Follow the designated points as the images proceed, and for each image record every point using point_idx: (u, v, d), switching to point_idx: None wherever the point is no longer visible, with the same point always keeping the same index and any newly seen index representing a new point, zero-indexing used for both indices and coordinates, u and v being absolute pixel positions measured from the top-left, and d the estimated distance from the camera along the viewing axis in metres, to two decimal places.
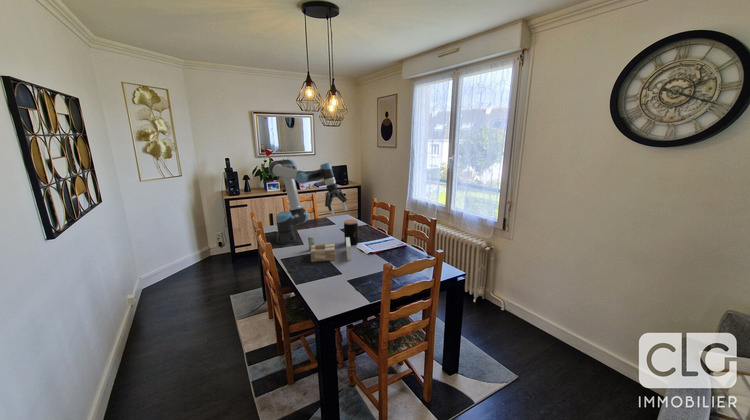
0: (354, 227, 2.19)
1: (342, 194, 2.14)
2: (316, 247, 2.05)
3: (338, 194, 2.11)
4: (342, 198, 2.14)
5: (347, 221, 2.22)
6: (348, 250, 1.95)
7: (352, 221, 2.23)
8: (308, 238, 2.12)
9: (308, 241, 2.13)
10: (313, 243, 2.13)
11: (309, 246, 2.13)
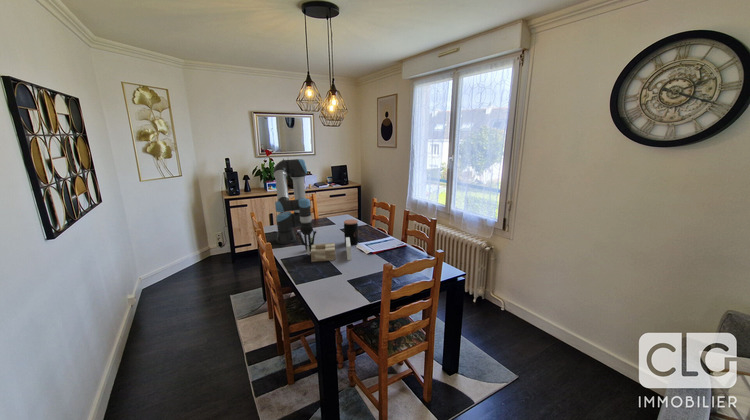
0: (354, 227, 2.19)
1: (313, 236, 1.97)
2: (316, 247, 2.05)
3: (308, 234, 1.96)
4: (309, 240, 1.98)
5: (347, 221, 2.23)
6: (348, 250, 1.95)
7: (352, 221, 2.23)
8: None
9: (308, 241, 2.13)
10: (313, 243, 2.13)
11: None
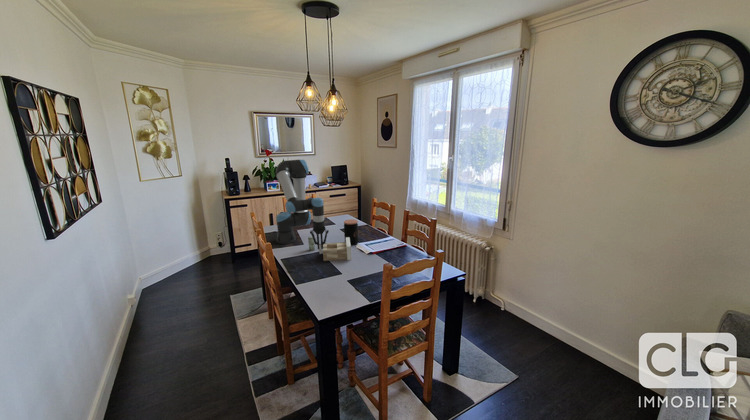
0: (354, 227, 2.19)
1: (325, 236, 1.98)
2: (328, 246, 2.06)
3: (321, 233, 1.97)
4: (321, 240, 1.99)
5: (347, 221, 2.23)
6: (348, 250, 1.95)
7: (352, 221, 2.23)
8: (308, 238, 2.12)
9: (308, 241, 2.13)
10: (313, 243, 2.13)
11: (309, 246, 2.13)
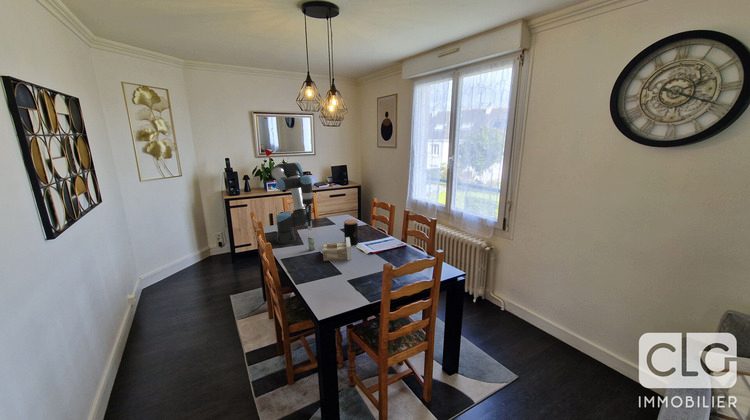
0: (354, 227, 2.19)
1: (306, 214, 2.04)
2: (328, 246, 2.06)
3: None
4: None
5: (347, 221, 2.23)
6: (348, 250, 1.95)
7: (352, 221, 2.23)
8: (308, 238, 2.12)
9: (308, 241, 2.13)
10: (313, 243, 2.13)
11: (309, 246, 2.13)
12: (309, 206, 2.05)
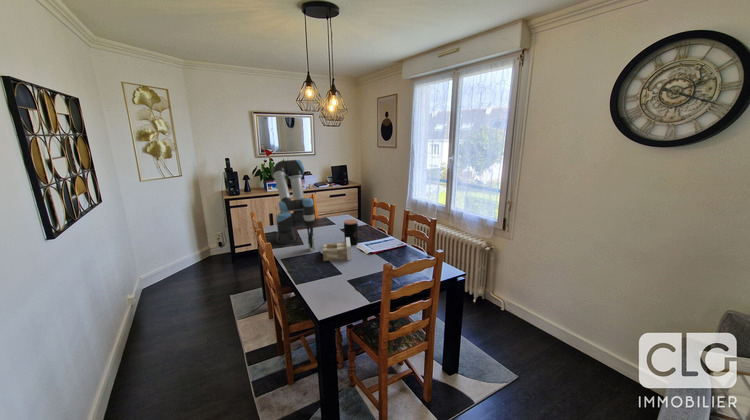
0: (354, 227, 2.19)
1: (308, 235, 2.07)
2: (328, 246, 2.06)
3: None
4: None
5: (347, 221, 2.23)
6: (348, 250, 1.95)
7: (352, 221, 2.23)
8: None
9: (308, 241, 2.13)
10: (313, 243, 2.13)
11: None
12: (311, 227, 2.10)
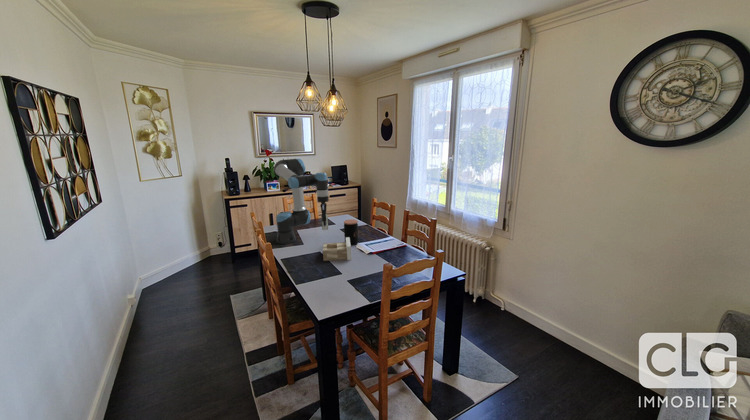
0: (354, 227, 2.19)
1: None
2: (328, 246, 2.06)
3: (321, 209, 1.96)
4: None
5: (347, 221, 2.23)
6: (348, 250, 1.95)
7: (352, 221, 2.23)
8: (321, 216, 1.98)
9: None
10: (327, 221, 1.99)
11: (322, 224, 1.99)
12: (325, 204, 1.96)
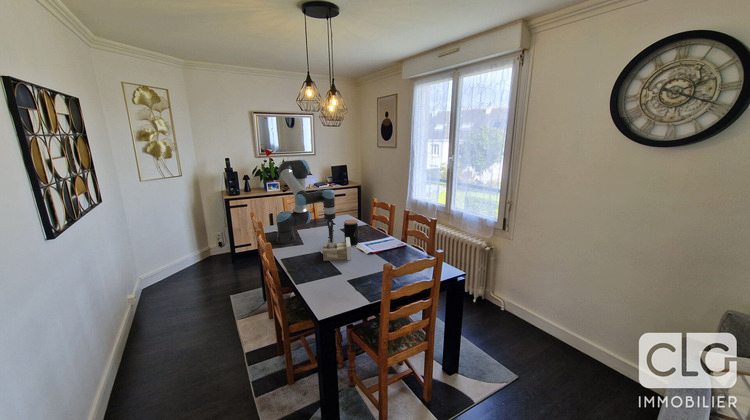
0: (354, 227, 2.19)
1: None
2: (328, 246, 2.06)
3: None
4: None
5: (347, 221, 2.23)
6: (348, 250, 1.95)
7: (352, 221, 2.23)
8: (328, 241, 2.01)
9: None
10: (334, 246, 2.02)
11: None
12: (331, 221, 1.96)
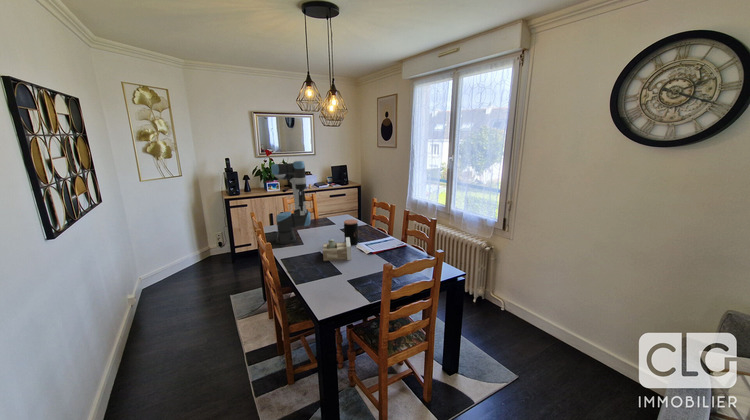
0: (354, 227, 2.19)
1: (299, 198, 2.00)
2: (328, 246, 2.06)
3: None
4: None
5: (347, 221, 2.23)
6: (348, 250, 1.95)
7: (352, 221, 2.23)
8: (329, 241, 2.00)
9: None
10: (334, 246, 2.02)
11: None
12: (302, 191, 2.05)
